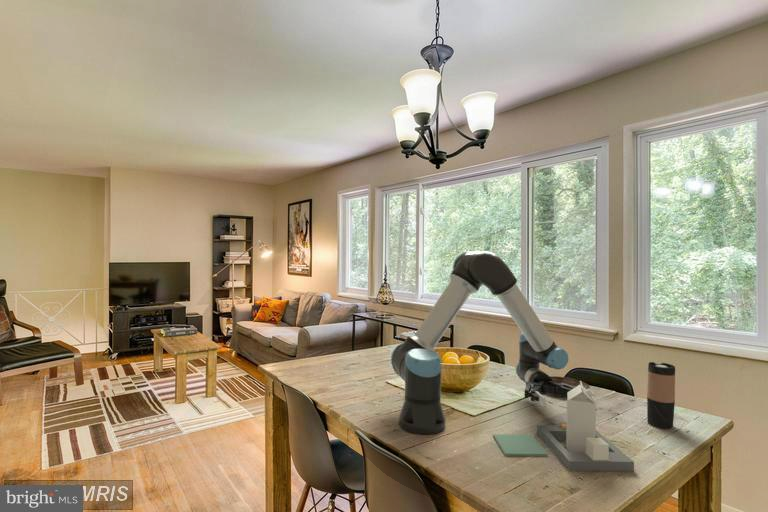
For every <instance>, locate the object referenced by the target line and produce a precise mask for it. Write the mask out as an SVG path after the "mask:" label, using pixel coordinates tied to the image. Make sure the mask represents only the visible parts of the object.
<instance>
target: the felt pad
mask: <svg viewBox="0 0 768 512" xmlns="http://www.w3.org/2000/svg"><path fill="white" fill-rule="evenodd" d="M492 437H493V439H494V440H495V442H496V443H497V444H498V445H497V446H498V447H499V449H500V450H501V452H502V453H503V455H504V456H505V457H509V456H510V457H512V456H513V457H549V453H548V452H547V450H546V449H544V447H543V446H542V445H541V444H540V443H539V441H538V440H537V439H536V438H535V437H534V436H533V434H513V433H512V434H510V433H508V434H506V433H505V434H504V433H503V434H500V433H499V434H497V433H496V434H495V433H493V434H492Z"/></svg>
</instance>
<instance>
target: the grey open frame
mask: <svg viewBox="0 0 768 512" xmlns="http://www.w3.org/2000/svg"><path fill="white" fill-rule="evenodd" d="M566 427H567V423H559V425H558V424H557V425H556V424H555V425H551V424H549V425H548V424H544V425H543V424H541V425H540V424H539V425H538V424H537V425H536V434H537V435H538V437H539V438H541V440H542V441H543V442H544V444H545V445H546V446H547V447H548V448H549V450H550V451H552V453H553V454H554V455H555V456H556V458H558V459H559V461H560V460H561V461H560V462H561V463H562V464H563V465H564V467H565V468H566V469H567V468H568V469H569V470H568V469H567V470H568V471H570V470H579V472H608V471H607V470H610V471H609V472H634V471H635V461H634V460H633V459H631V458H630V457H629V456H628V455H627V454H626V453H624V452H623V451H622V450H621V449H619V448H618V447H617V446H616V445H614V444H613V443H612V442H611V441H610V440H608V439H607V438H606V437H604V436H603V435H602V434H601V433H600V432H598V430H596V429H595V438H586V452H568V451H567V448H565V447H564V446H563V444H562V443H560V442H559V440H566ZM601 470H602V471H601ZM570 472H571V471H570Z"/></svg>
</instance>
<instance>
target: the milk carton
mask: <svg viewBox="0 0 768 512" xmlns="http://www.w3.org/2000/svg"><path fill="white" fill-rule="evenodd" d="M579 381H580V385H578V386H577V387H575V388H574V389H572V390H571V391H569V392H567V397H566V424H567V427H566V439H565V443H566V444H565V445H566V450H567V451H568V452H586V438H595V430H596V425H597V424H596V422H597V421H596V420H597V403H596V399H595V397H594V396H595V393H594V392H593V391H592V389H591V388H590V389H587V390H586V389H585V388H584V387H583V386H582V383H581V381H582V380H579Z"/></svg>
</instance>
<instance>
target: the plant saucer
mask: <svg viewBox="0 0 768 512" xmlns="http://www.w3.org/2000/svg"><path fill="white" fill-rule="evenodd" d="M549 376H550V377H551V378H552V380H553V382H554V383H557V384H560V385H561V382H563V383H565V384H567V385H570V386H573V387H577V386H578V385H580V381H581V383H582V386H583V387H584V388H585V389H586V390H587V389H590V390H591V386H590V385H589V384H588V383H586V382H584V381H582V380H578V379H575V378H570V377H564V376H556V375H555V376H554V375H549ZM556 392H558V390H557V391H556ZM551 395H554V396H558V397H564V398H567V396H565V395H561V394H560V395H556V394H553V393H552V394H551Z"/></svg>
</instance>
